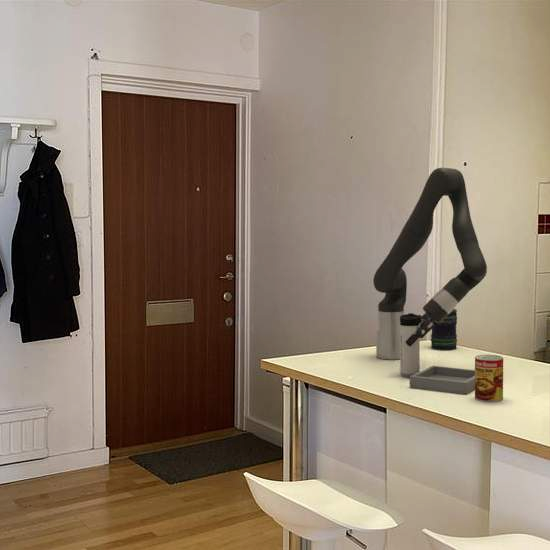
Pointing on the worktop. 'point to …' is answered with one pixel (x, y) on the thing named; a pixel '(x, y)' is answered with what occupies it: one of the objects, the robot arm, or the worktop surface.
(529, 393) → the worktop surface
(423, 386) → the grey tray
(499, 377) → the canned food
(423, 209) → the robot arm
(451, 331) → the storage jar
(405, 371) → the travel mug
